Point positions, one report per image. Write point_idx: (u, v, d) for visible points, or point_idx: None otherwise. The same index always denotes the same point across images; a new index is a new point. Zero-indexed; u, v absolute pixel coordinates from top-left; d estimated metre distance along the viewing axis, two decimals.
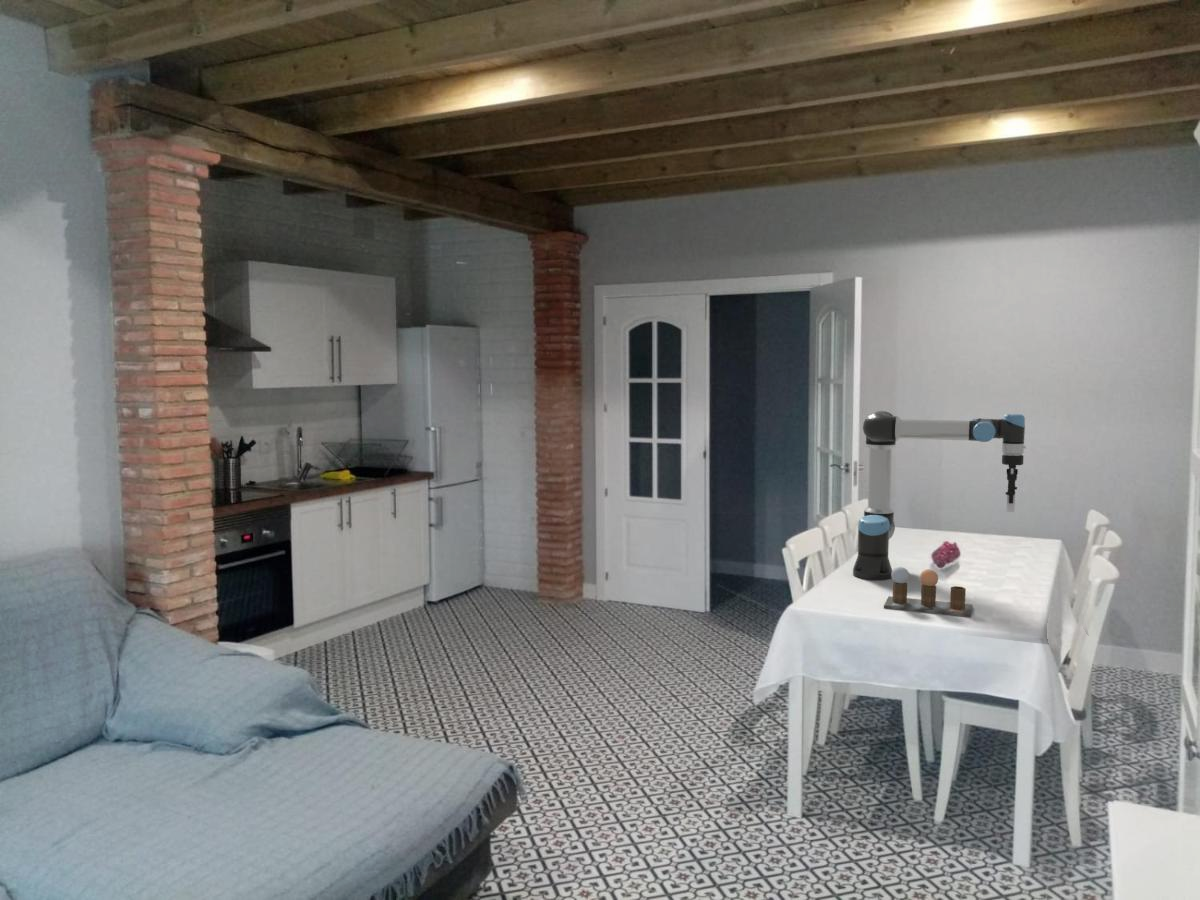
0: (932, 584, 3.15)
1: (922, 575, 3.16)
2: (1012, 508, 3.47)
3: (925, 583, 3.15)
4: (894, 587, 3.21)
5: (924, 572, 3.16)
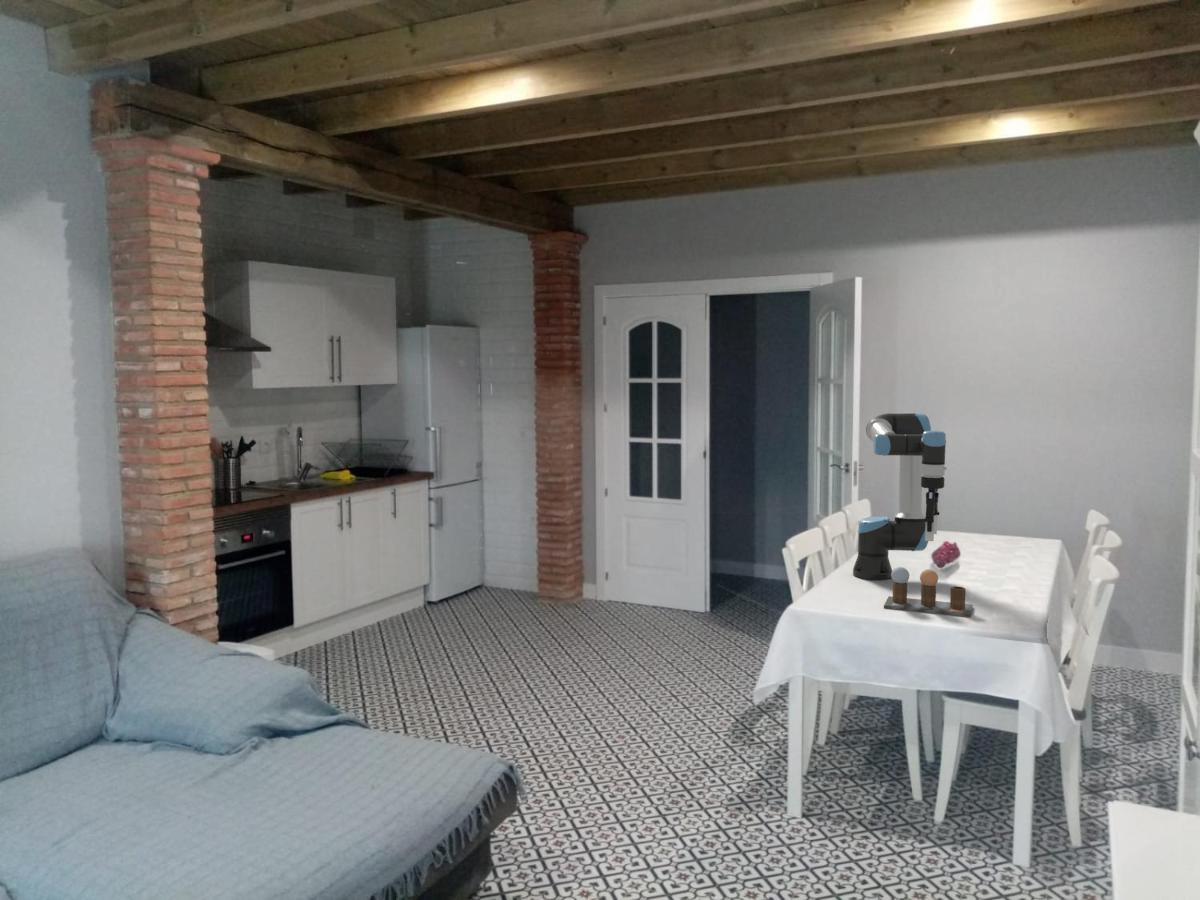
0: (932, 584, 3.15)
1: (922, 575, 3.16)
2: (930, 536, 3.09)
3: (925, 583, 3.15)
4: (894, 587, 3.21)
5: (924, 572, 3.16)
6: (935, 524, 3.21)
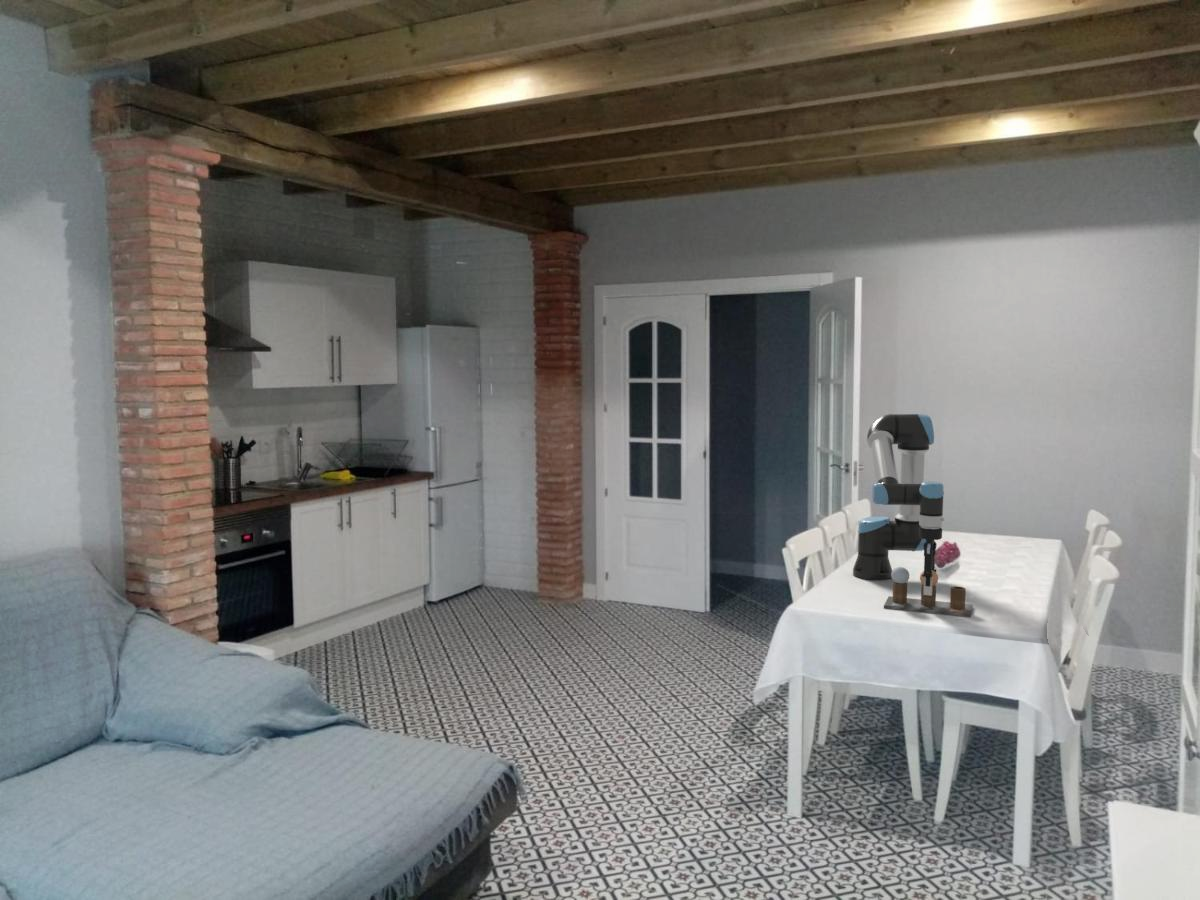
0: (932, 584, 3.15)
1: None
2: (929, 591, 3.14)
3: None
4: (894, 587, 3.21)
5: None
6: None
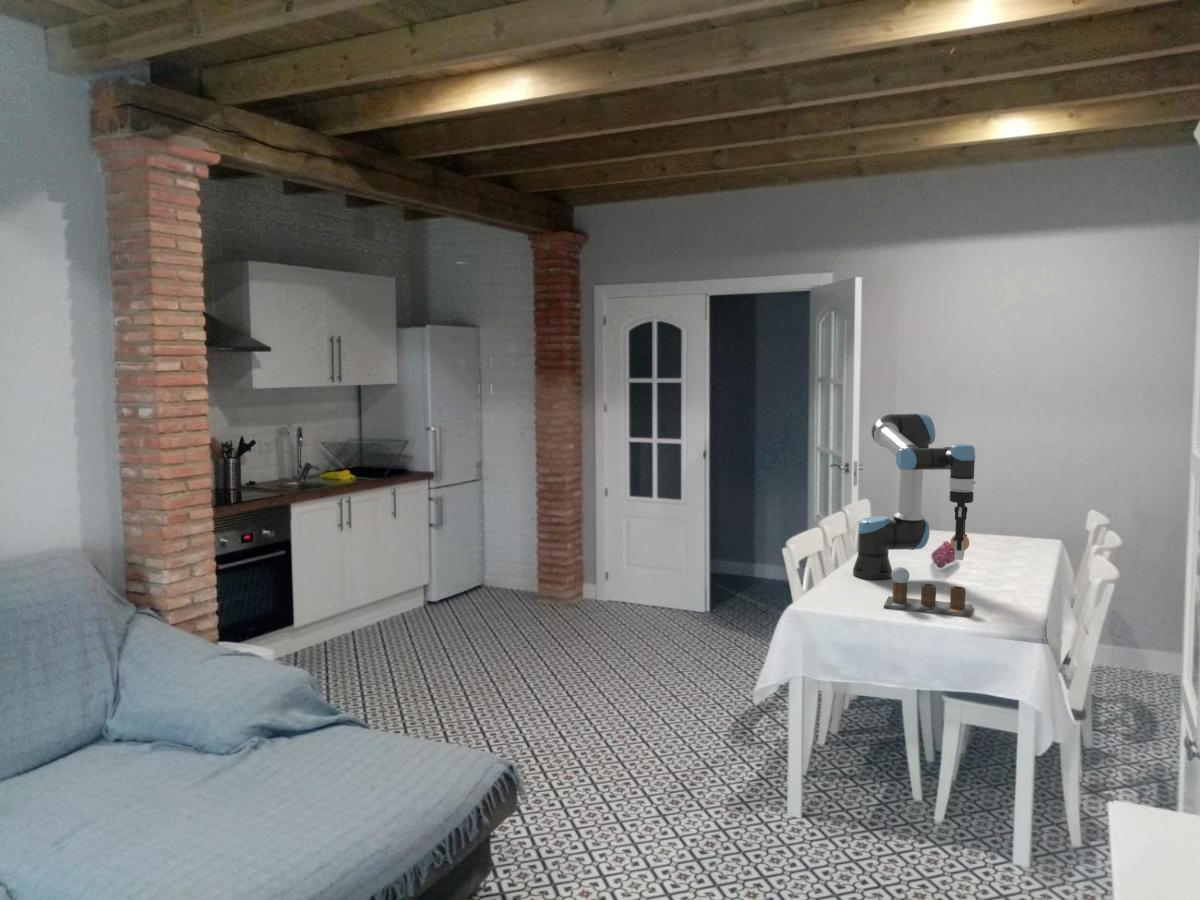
0: None
1: None
2: (960, 555, 3.08)
3: None
4: (894, 587, 3.21)
5: None
6: None
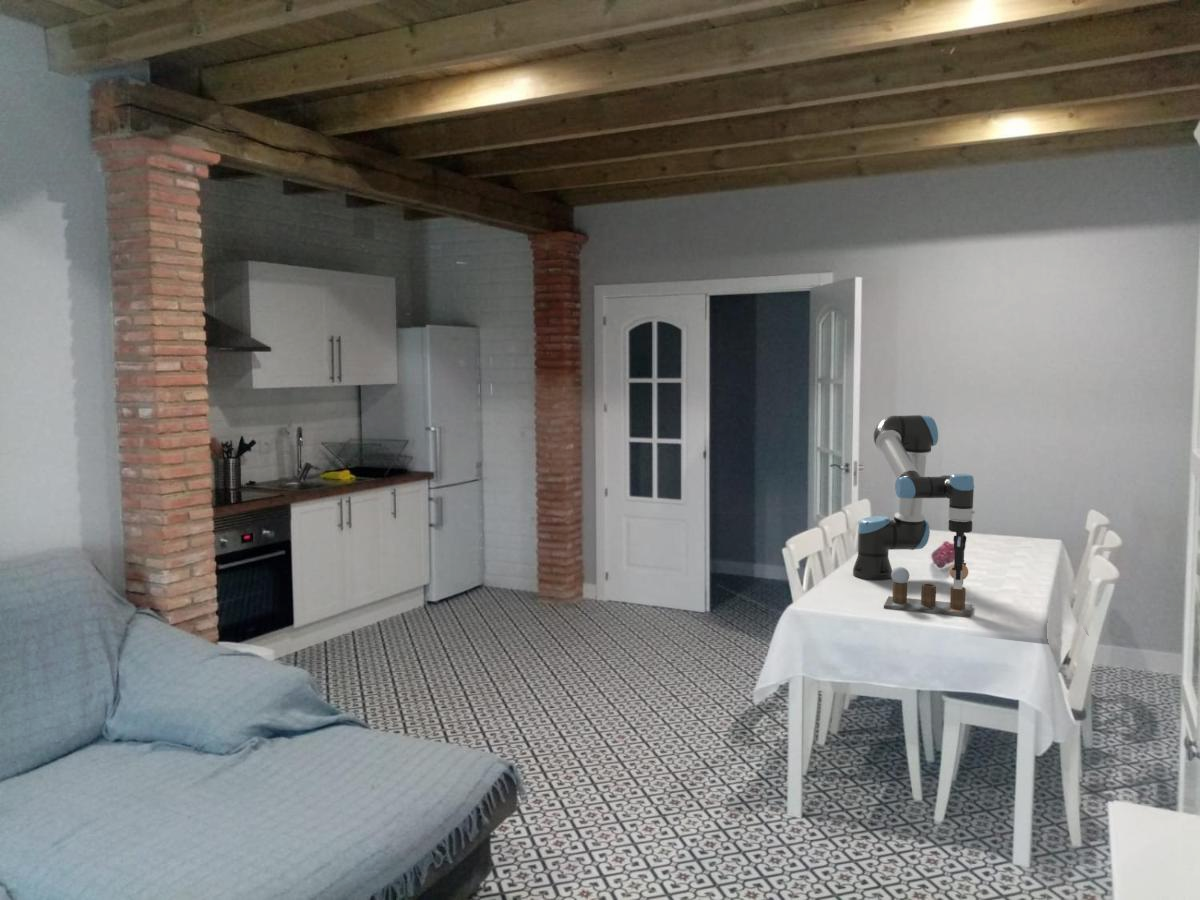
0: (962, 578, 3.10)
1: None
2: (959, 584, 3.09)
3: None
4: (894, 587, 3.21)
5: None
6: None
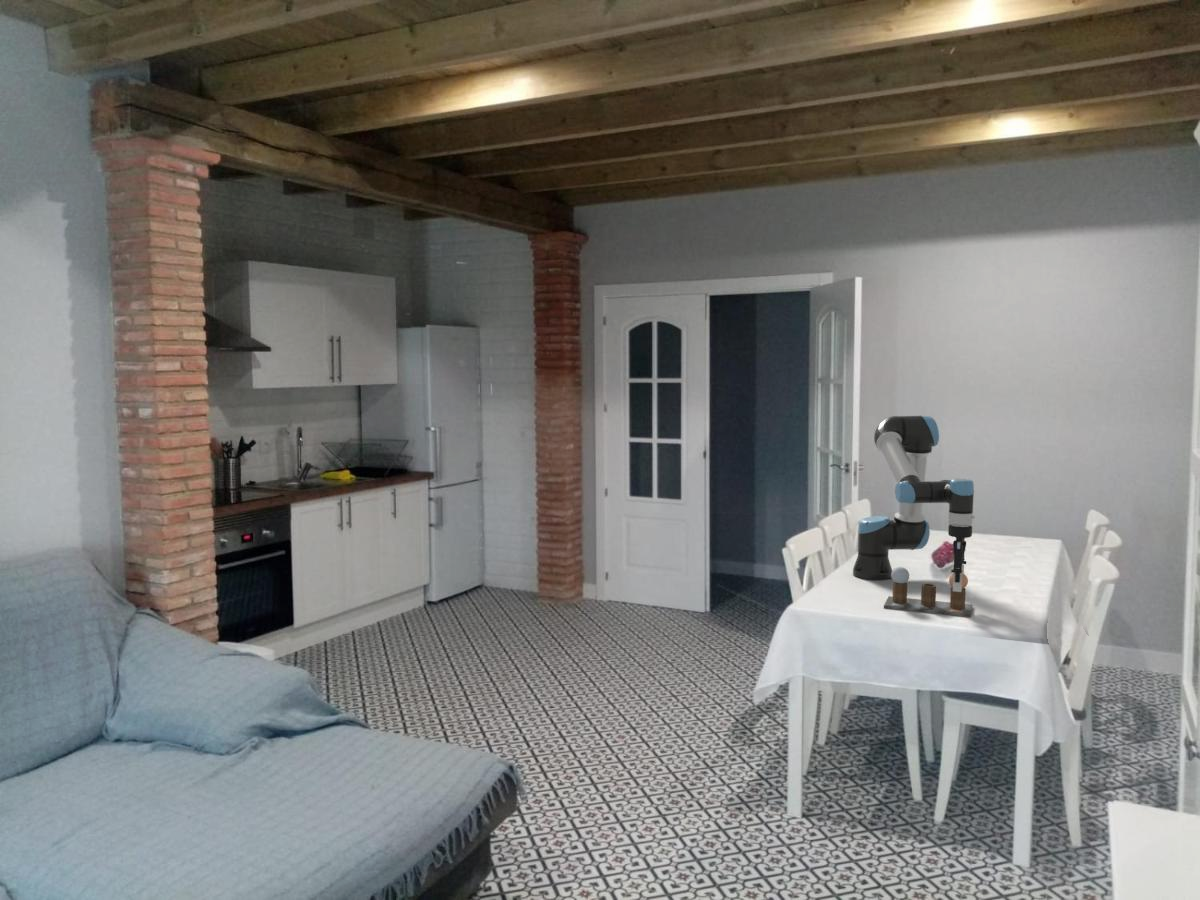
0: (962, 587, 3.11)
1: (951, 578, 3.12)
2: (958, 587, 3.07)
3: None
4: (894, 587, 3.21)
5: None
6: None
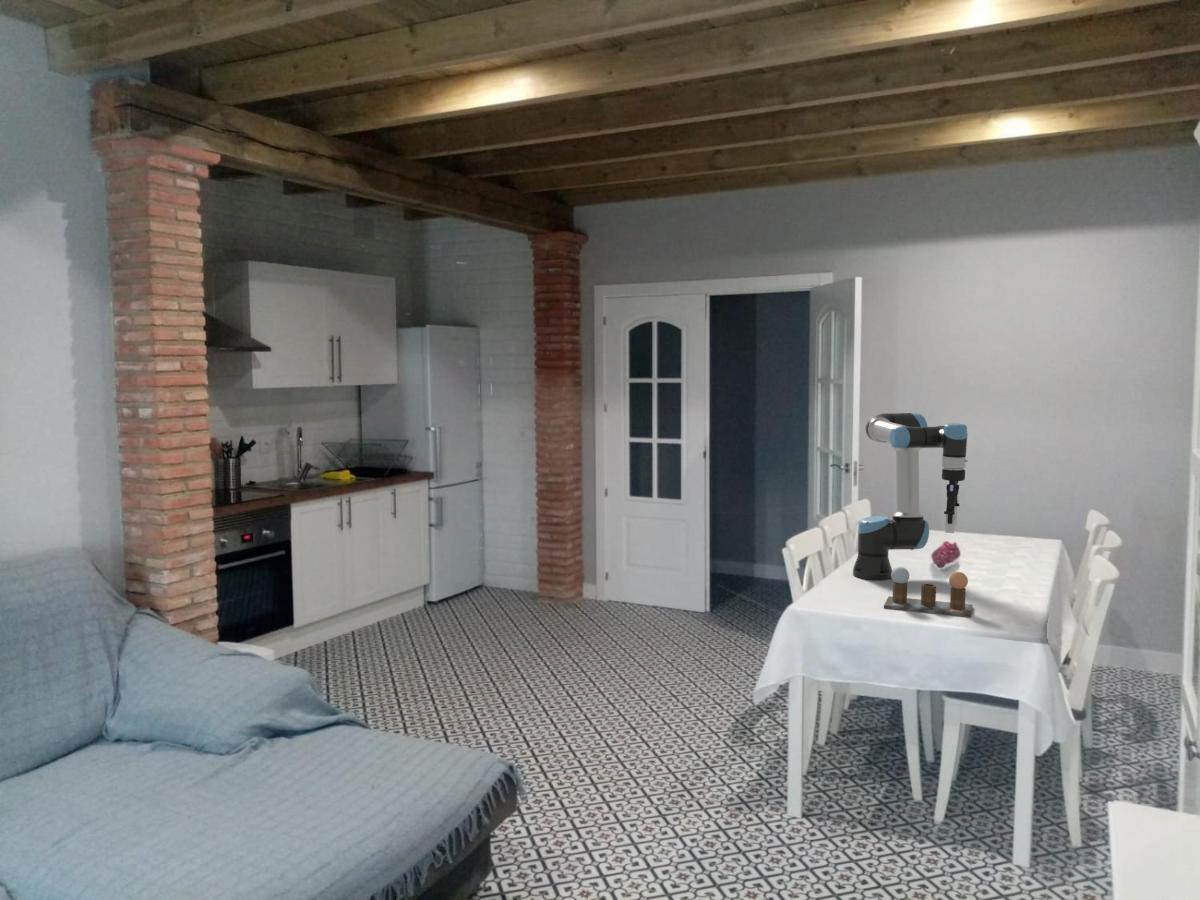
0: (962, 587, 3.11)
1: (951, 578, 3.12)
2: (951, 528, 3.12)
3: (955, 586, 3.11)
4: (894, 587, 3.21)
5: (953, 575, 3.12)
6: (955, 515, 3.24)
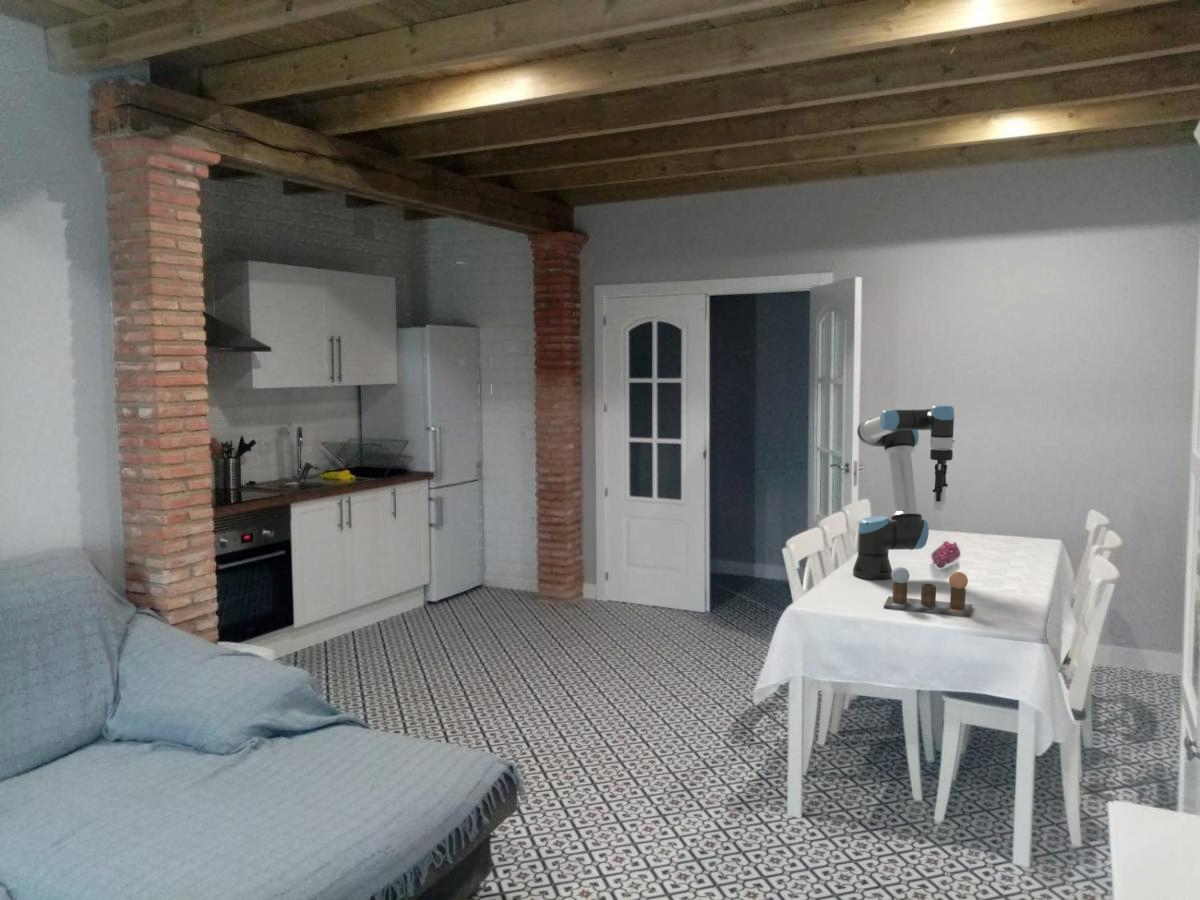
0: (962, 587, 3.11)
1: (951, 578, 3.12)
2: (939, 506, 3.23)
3: (955, 586, 3.11)
4: (894, 587, 3.21)
5: (953, 575, 3.12)
6: (943, 495, 3.34)
